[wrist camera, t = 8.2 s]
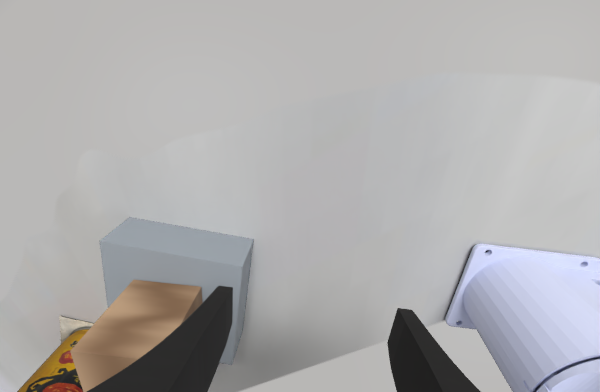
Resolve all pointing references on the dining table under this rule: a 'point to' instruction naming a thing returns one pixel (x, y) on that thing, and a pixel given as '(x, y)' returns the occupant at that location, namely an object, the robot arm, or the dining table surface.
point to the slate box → (179, 264)
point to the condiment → (60, 362)
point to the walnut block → (132, 328)
